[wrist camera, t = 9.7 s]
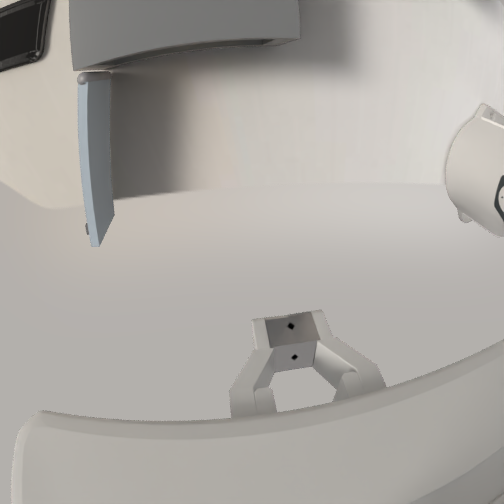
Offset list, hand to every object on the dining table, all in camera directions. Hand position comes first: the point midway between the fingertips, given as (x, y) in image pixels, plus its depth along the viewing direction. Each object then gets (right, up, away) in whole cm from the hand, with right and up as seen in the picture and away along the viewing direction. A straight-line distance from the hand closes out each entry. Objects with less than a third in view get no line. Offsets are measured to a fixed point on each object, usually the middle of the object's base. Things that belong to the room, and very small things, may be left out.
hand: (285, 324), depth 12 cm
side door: (-16, +13, +12) cm, 23 cm away
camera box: (-7, +25, +6) cm, 26 cm away
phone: (-28, +25, +2) cm, 38 cm away
